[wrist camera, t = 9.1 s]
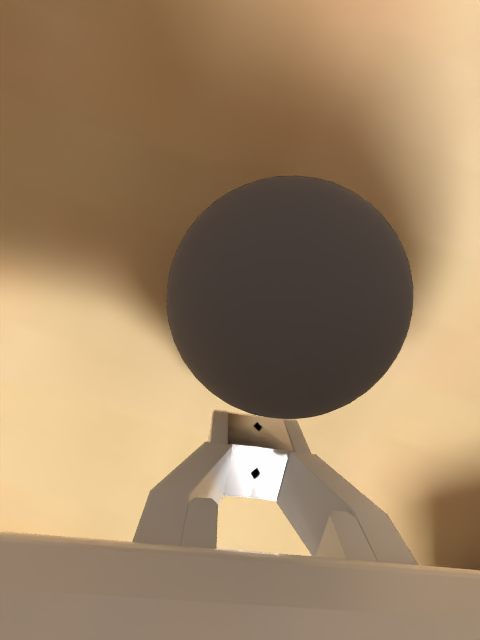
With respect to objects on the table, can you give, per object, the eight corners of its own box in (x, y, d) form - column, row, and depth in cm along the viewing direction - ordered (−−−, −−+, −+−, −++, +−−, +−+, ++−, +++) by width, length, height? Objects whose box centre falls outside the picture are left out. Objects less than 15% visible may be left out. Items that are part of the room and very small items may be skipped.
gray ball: (152, 435, 7) (192, 289, 11) (354, 456, 7) (323, 309, 11) (68, 266, 2) (190, 117, 6) (627, 349, 3) (413, 162, 7)
